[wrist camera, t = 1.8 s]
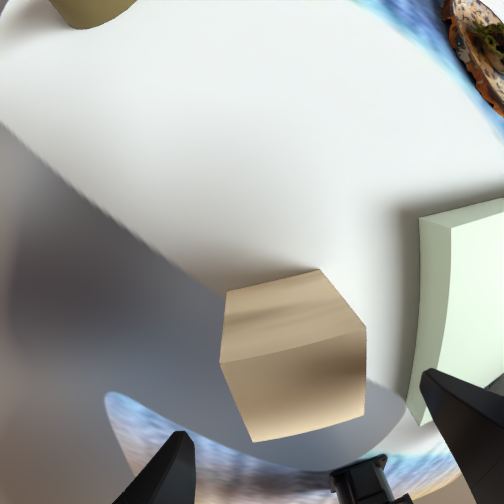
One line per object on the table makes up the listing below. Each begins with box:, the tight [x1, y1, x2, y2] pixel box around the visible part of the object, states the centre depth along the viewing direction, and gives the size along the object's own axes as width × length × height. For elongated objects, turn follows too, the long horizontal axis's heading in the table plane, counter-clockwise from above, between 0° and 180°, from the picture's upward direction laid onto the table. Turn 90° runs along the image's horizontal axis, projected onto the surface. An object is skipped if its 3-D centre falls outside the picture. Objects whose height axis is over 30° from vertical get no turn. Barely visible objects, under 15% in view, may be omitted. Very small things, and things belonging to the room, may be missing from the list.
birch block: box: [219, 269, 366, 442], centre depth 12 cm, size 5×5×6 cm
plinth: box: [405, 197, 504, 427], centre depth 14 cm, size 16×16×3 cm
